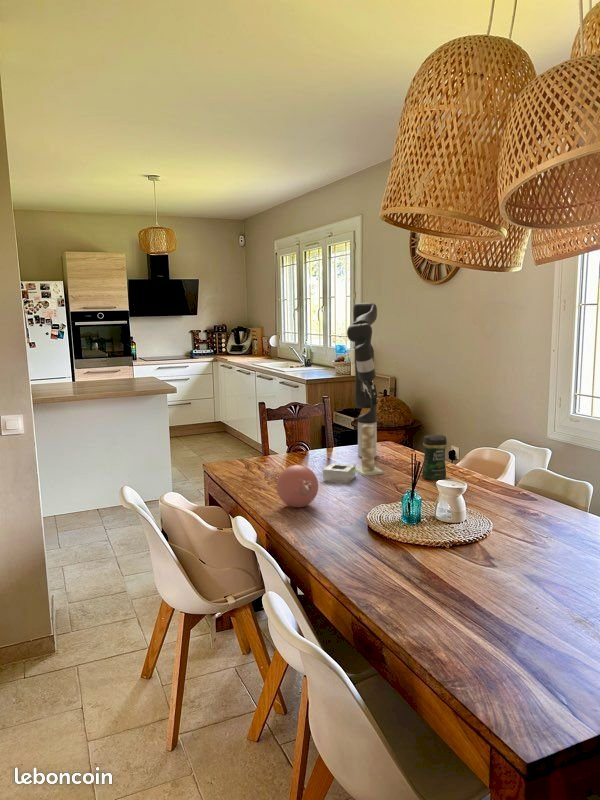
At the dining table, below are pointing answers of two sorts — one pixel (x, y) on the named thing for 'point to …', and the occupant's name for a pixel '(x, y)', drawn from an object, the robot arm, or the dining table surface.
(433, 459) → the coffee jar
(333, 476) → the block
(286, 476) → the pink rubber ball
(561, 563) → the dining table surface
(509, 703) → the dining table surface
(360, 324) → the robot arm
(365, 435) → the beech peg
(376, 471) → the sage mat
